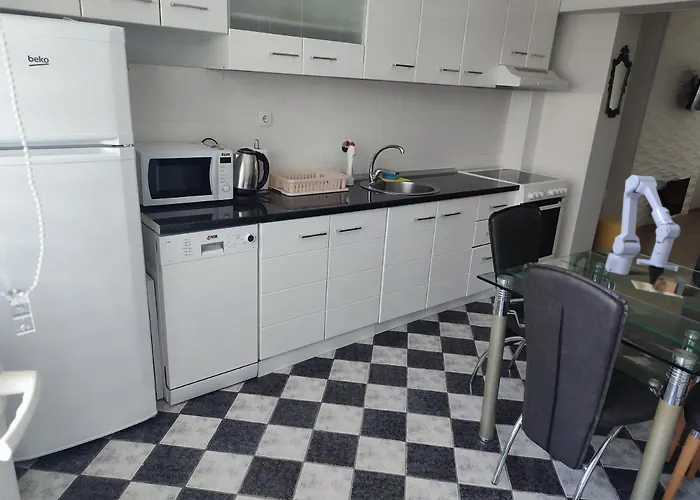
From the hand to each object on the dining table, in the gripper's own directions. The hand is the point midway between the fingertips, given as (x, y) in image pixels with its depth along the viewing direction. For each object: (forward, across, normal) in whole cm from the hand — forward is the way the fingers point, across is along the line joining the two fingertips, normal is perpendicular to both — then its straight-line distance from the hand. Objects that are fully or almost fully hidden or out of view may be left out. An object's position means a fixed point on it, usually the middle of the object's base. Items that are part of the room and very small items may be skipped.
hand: (651, 283), depth 202 cm
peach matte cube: (+2, +6, 0) cm, 7 cm away
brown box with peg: (+1, +3, 0) cm, 3 cm away
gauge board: (+3, +2, 0) cm, 4 cm away
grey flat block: (+3, +10, 0) cm, 10 cm away
